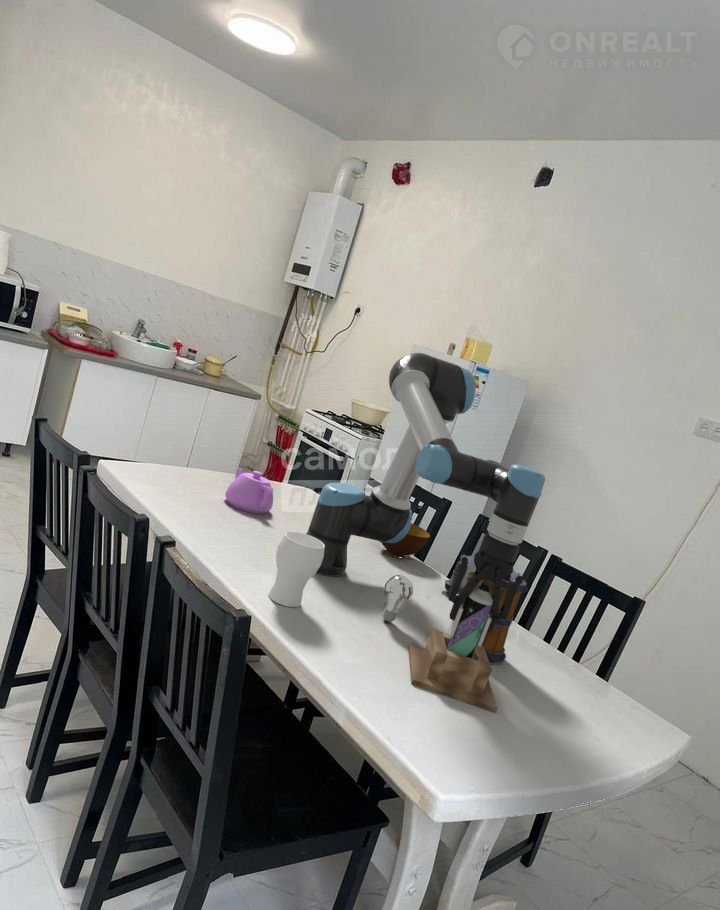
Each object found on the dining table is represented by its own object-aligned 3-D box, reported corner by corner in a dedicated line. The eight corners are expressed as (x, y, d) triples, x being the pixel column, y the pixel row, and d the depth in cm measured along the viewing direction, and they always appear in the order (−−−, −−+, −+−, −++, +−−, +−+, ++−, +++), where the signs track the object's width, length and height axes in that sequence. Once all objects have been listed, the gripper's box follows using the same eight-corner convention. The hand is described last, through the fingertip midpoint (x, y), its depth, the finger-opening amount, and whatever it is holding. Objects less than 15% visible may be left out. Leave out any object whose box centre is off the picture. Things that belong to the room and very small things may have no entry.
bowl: (362, 547, 223) (372, 519, 222) (379, 540, 240) (389, 513, 238) (411, 569, 218) (422, 540, 216) (426, 560, 234) (436, 533, 233)
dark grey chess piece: (459, 602, 202) (473, 564, 200) (440, 594, 203) (454, 557, 201) (460, 596, 208) (473, 559, 206) (441, 589, 208) (455, 552, 207)
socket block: (411, 683, 139) (423, 652, 138) (408, 647, 156) (418, 619, 155) (496, 712, 139) (508, 681, 138) (483, 672, 157) (494, 644, 156)
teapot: (283, 521, 222) (295, 486, 221) (243, 517, 212) (255, 480, 210) (249, 496, 238) (260, 464, 237) (210, 491, 228) (221, 457, 226)
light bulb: (403, 623, 170) (420, 579, 168) (396, 631, 163) (413, 585, 161) (378, 612, 172) (394, 567, 170) (369, 619, 165) (386, 573, 163)
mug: (428, 622, 177) (455, 550, 174) (473, 629, 183) (500, 560, 180) (467, 662, 160) (498, 583, 157) (515, 668, 166) (545, 592, 163)
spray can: (438, 659, 150) (470, 575, 147) (462, 666, 150) (494, 582, 148) (443, 672, 144) (476, 584, 141) (467, 678, 145) (501, 592, 142)
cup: (314, 604, 162) (334, 546, 160) (292, 614, 152) (313, 552, 150) (277, 585, 166) (296, 528, 164) (253, 594, 156) (274, 532, 154)
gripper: (462, 528, 139) (423, 631, 143) (549, 558, 140) (508, 660, 143) (458, 519, 147) (421, 618, 150) (541, 548, 147) (502, 645, 150)
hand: (464, 638), depth 146 cm, fingers open, 6 cm apart
